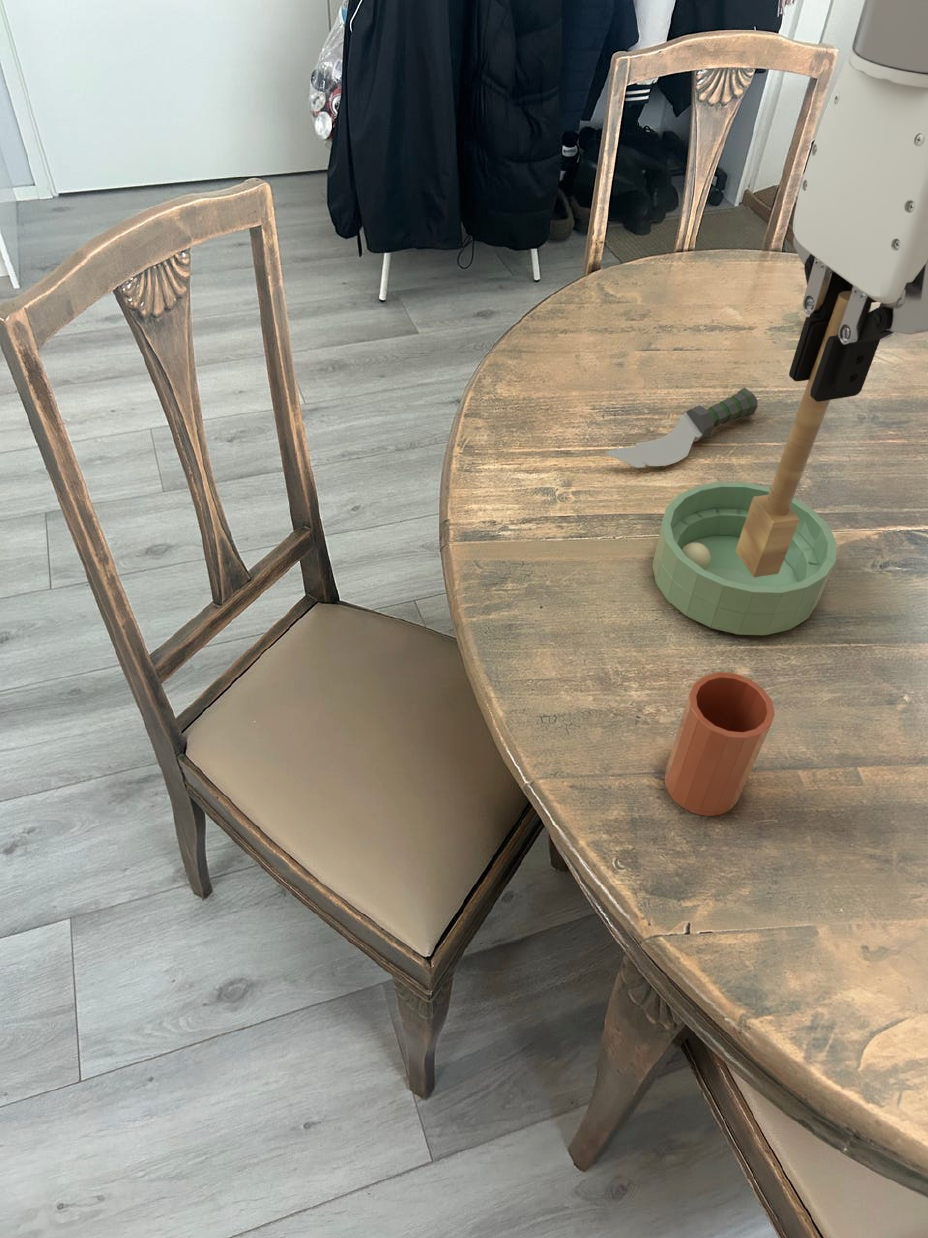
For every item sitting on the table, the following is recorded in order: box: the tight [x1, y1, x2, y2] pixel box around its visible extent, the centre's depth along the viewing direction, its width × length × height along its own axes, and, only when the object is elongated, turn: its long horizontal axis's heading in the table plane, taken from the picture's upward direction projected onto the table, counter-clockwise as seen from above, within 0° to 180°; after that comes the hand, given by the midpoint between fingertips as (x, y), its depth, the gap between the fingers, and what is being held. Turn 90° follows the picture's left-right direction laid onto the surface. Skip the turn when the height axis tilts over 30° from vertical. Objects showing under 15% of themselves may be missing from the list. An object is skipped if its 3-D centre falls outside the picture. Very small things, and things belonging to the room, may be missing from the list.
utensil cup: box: [664, 671, 776, 817], centre depth 65 cm, size 6×6×10 cm
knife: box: [604, 387, 759, 469], centre depth 99 cm, size 22×4×5 cm
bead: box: [681, 543, 711, 570], centre depth 84 cm, size 3×3×3 cm
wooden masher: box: [735, 291, 852, 577], centre depth 57 cm, size 3×2×20 cm, turn 14°
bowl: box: [651, 481, 838, 636], centre depth 83 cm, size 16×16×6 cm
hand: (823, 384), depth 54 cm, fingers closed on wooden masher, 1 cm apart
